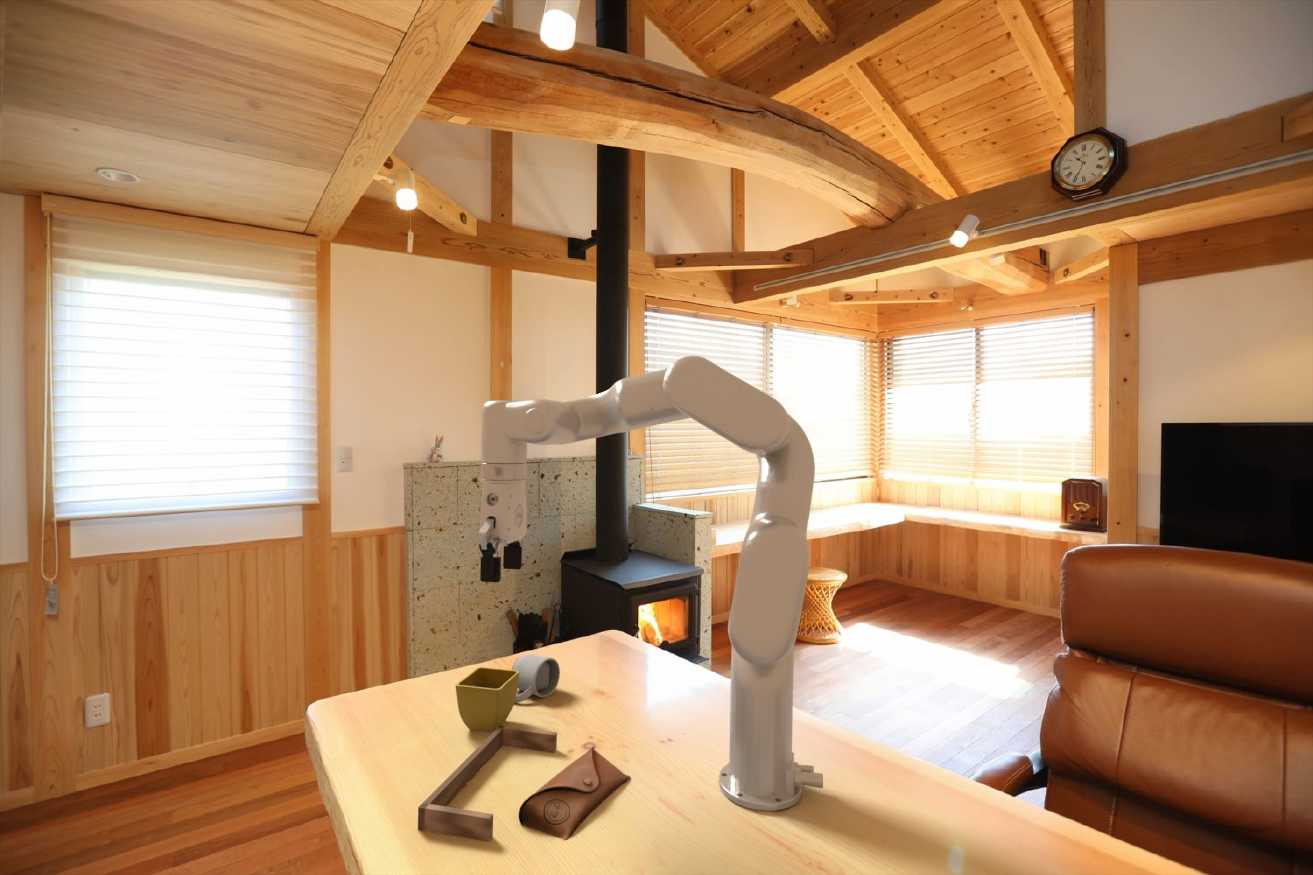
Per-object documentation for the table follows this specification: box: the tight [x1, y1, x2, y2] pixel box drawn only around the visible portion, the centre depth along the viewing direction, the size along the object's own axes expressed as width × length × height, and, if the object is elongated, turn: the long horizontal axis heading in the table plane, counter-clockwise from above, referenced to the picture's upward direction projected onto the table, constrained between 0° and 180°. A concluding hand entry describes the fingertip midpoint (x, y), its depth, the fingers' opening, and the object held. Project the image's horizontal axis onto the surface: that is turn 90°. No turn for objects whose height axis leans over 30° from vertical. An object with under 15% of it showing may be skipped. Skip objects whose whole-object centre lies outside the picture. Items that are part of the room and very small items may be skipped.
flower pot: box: [455, 666, 519, 733], centre depth 110 cm, size 9×9×9 cm
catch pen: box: [417, 724, 558, 842], centre depth 91 cm, size 10×24×3 cm, turn 168°
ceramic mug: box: [511, 653, 561, 704], centre depth 124 cm, size 11×8×8 cm
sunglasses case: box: [518, 746, 631, 841], centre depth 88 cm, size 18×7×7 cm, turn 153°
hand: (501, 574), depth 100 cm, fingers open, 9 cm apart
